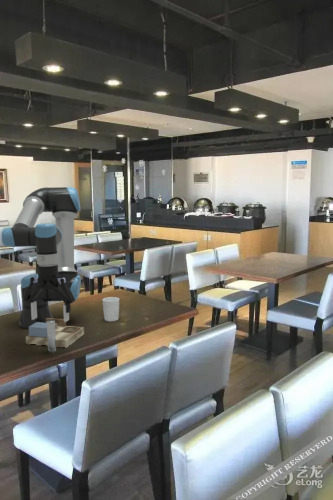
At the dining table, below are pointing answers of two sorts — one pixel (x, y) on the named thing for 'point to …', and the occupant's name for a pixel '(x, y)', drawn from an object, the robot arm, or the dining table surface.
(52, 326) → the pin
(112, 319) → the white cup
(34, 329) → the block
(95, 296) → the dining table surface
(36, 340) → the base plate
